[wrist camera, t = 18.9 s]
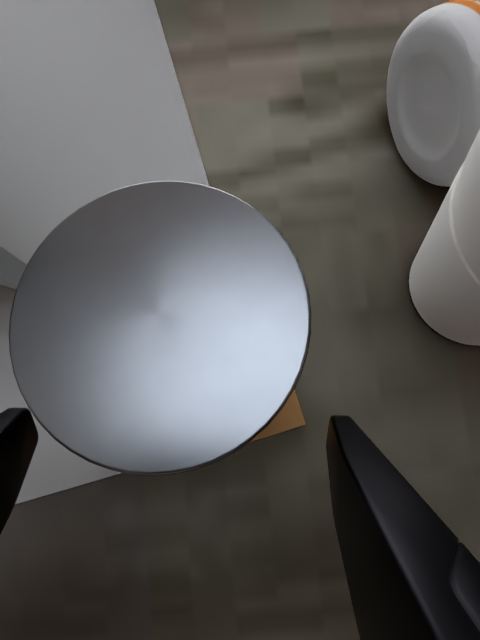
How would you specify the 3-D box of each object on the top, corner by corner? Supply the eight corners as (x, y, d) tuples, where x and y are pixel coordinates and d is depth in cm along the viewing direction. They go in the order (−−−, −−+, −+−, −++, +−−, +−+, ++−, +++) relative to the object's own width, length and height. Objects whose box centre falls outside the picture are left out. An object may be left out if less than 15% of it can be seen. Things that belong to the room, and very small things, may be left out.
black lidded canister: (173, 480, 15) (82, 543, 7) (104, 342, 16) (-37, 263, 8) (311, 397, 15) (373, 368, 7) (234, 270, 16) (217, 134, 9)
